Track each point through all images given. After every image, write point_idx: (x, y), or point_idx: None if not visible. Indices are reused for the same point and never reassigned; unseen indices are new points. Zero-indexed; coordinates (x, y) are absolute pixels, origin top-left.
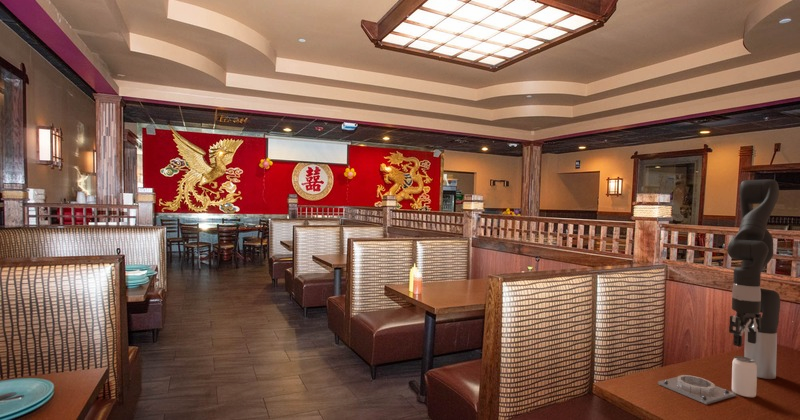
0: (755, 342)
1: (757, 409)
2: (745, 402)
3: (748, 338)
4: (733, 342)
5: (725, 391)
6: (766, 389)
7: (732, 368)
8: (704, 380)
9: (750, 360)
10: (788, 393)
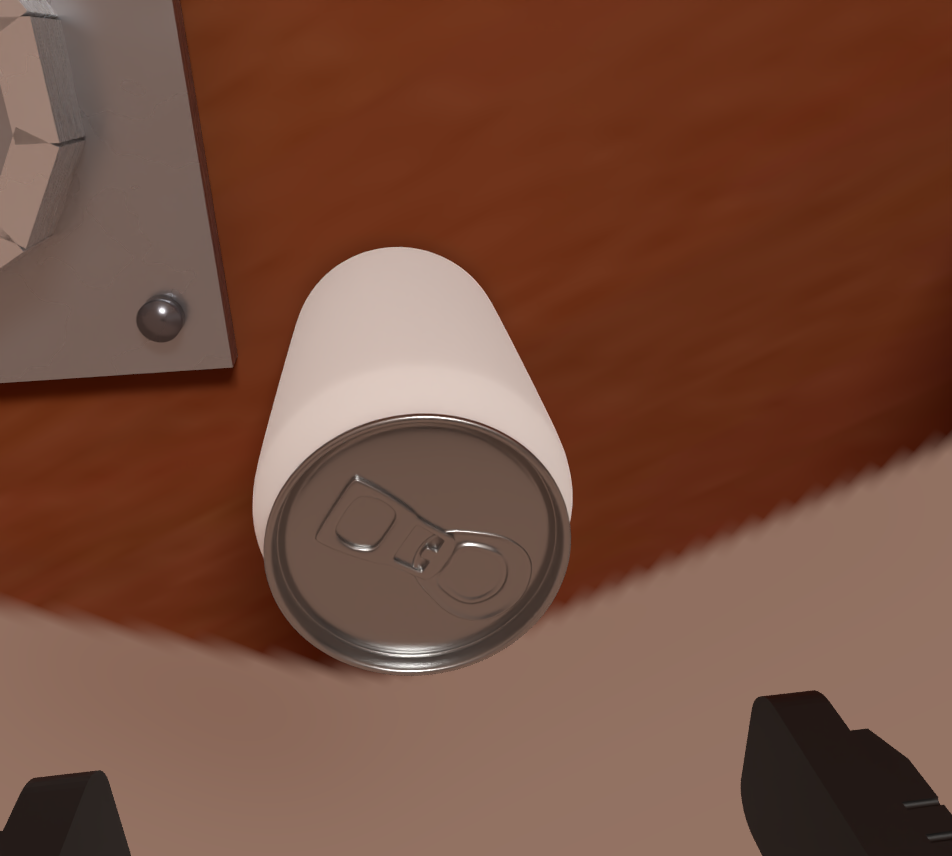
0: (765, 839)
1: (161, 580)
2: (195, 471)
3: (811, 776)
4: (8, 826)
5: (139, 317)
6: (744, 356)
7: (307, 361)
8: (6, 104)
9: (498, 584)
10: (822, 469)
